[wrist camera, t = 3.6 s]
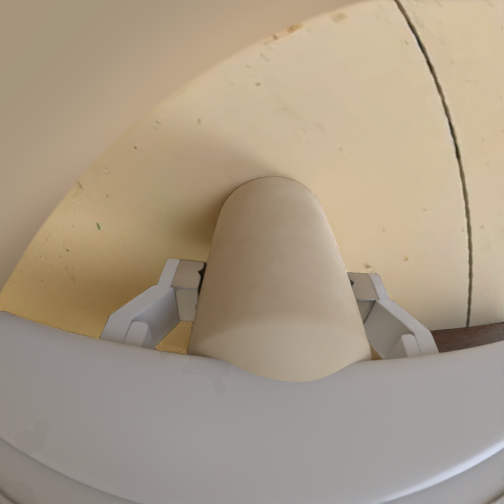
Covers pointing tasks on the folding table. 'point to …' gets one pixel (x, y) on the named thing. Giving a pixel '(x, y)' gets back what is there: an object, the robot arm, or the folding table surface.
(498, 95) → the folding table surface
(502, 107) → the folding table surface
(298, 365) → the candle
